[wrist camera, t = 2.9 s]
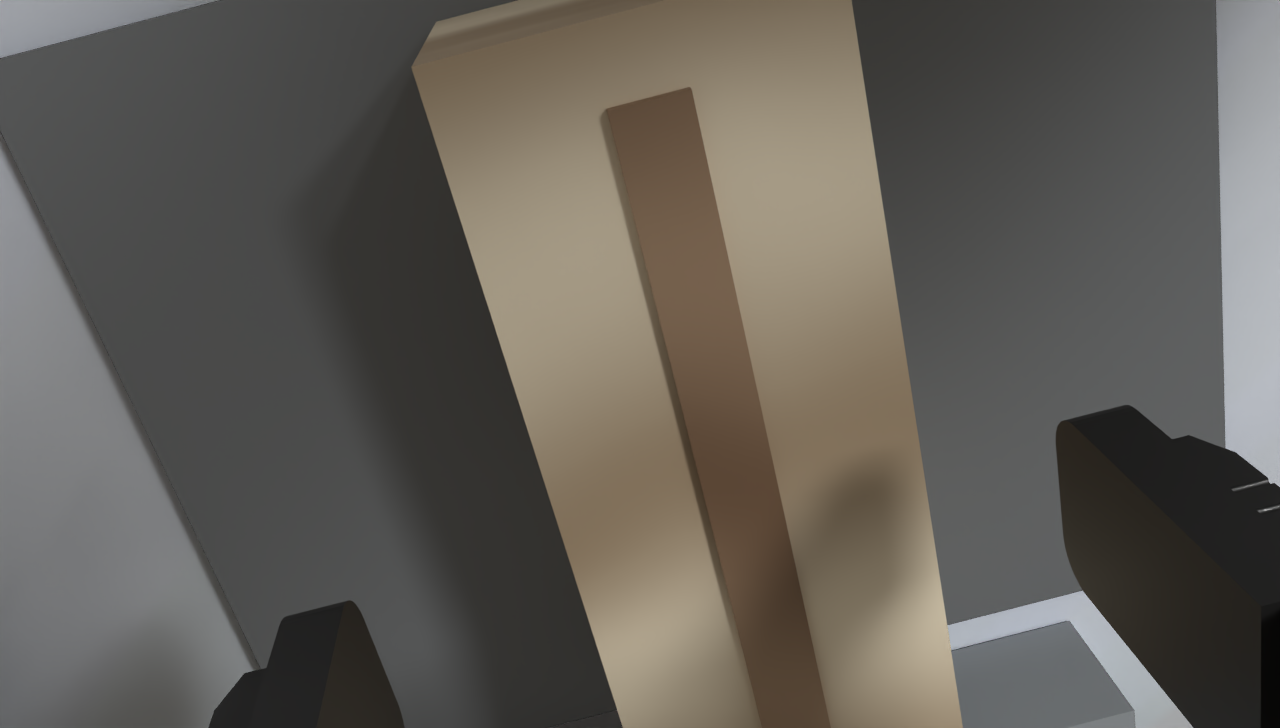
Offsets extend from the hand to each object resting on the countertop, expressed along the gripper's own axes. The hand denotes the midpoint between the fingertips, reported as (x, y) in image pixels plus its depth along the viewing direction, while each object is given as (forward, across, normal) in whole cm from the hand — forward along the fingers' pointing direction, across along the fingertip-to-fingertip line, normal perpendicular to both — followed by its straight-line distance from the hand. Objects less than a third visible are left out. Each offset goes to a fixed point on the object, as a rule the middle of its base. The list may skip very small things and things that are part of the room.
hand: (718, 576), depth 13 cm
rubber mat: (+7, -1, 0) cm, 7 cm away
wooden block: (+7, -1, 0) cm, 7 cm away
